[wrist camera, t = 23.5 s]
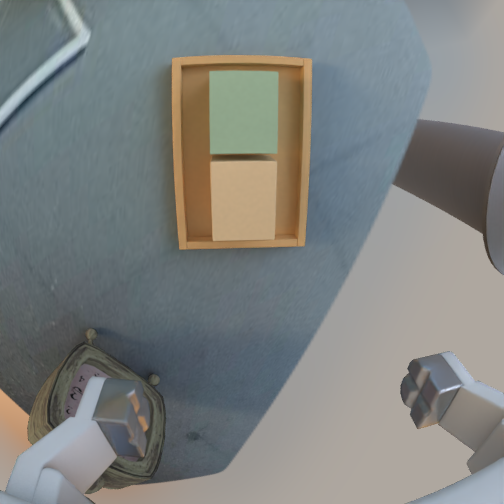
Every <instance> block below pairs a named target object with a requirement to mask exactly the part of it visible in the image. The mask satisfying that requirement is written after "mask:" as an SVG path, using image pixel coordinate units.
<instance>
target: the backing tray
mask: <svg viewBox="0 0 504 504" xmlns="http://www.w3.org/2000/svg"><path fill="white" fill-rule="evenodd" d="M210 71H276V72H278V143H277V154H210V125H209V72H210ZM311 108H312V59H307V58H304V59H303V58H295V57H281V56H257V55H217V56H194V57H181V58H180V57H179V58H172V131H173V160H174V180H175V197H176V212H177V226H178V238H179V249H180V250H184V249H219V248H257V247H296V246H305V235H306V221H307V205H308V188H309V168H310V143H311ZM221 155H270V156H271V157H272V158H273V159H274V160H276V161H277V183H276V217H275V239H274V240H238V241H213V238H212V212H211V180H210V162H211V159H212V156H221Z"/></svg>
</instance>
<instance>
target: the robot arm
mask: <svg viewBox="0 0 504 504" xmlns="http://www.w3.org/2000/svg"><path fill="white" fill-rule="evenodd" d="M408 371H409V373H408V374H407V375H406V376H405V377H404V378H403V381H402V384H401V397H402V400H403V402H404V404H405V405H406V406H408V407H409V408H411V413H410V415H411V417H412V419H413V421H414V423H415V425H416V427H417V429H421V428H424V427H428V426H431V425H434V424H437V423H439V424H438V425H439V426H441V427H442V428H444V429H445V430H446V431H447V432H449V433H450V434H452V435H453V436H454V437H456V438H457V439H458V440H460V441H461V442H462V443H464V444H465V445H467V446H468V447H469V448H471V449H472V450H473V451H475V453H474V454H473V455H472V456H471V458H470V459H469V460H468V462H467V466H468V468H469V470H470V472H471V474H472V475H470V476H468V477H466V478H464V479H462V480H460V481H458V482H456V483H454V484H452V485H449V486H447V487H445V488H443V489H441V490H438V491H436V492H434V493H431V494H429V495H426V496H424V497H421V498H419V499H416V500H414V501H411V502H408V503H405V504H504V393H502V392H500V391H498V390H496V389H494V388H492V387H490V386H488V385H486V384H484V383H482V382H480V381H474V379H473V378H472V377H471V375H470V374H469V373H468V371H467V370H466V369H465V367H464V366H463V365H462V364H461V362H460V361H459V360H458V358H457V357H456V356H455V355H454V354H453V353H452V352H450V351H447V352H444V353H440V354H435V355H431V356H427V357H422V358H418V359H414V360H412V361H411V362H410V364H409V366H408ZM143 391H144V388H143V385H142V382H141V381H137V380H126V379H115V378H104V377H95V376H92V377H91V378H90V379H89V380H88V383H87V385H86V388H85V391H84V393H83V396H82V398H81V401H80V404H79V406H78V409H77V412H76V414H75V417H69V418H68V419H67V420H65V421H64V422H63V423H61V424H60V425H59V426H57V427H56V428H55V429H53V430H52V431H51V432H49V433H48V434H47V435H45V436H44V437H43V438H42V439H40V440H39V441H38V442H36V443H35V444H34V445H32V446H31V447H30V448H28V449H27V450H26V451H25V452H23V453H22V454H20V455H19V456H18V457H17V459H16V462H15V465H14V467H13V470H12V473H11V476H10V478H9V481H8V484H7V487H6V490H5V492H4V491H1V490H0V504H93V503H92V502H91V501H90V500H89V499H88V498H86V497H85V496H84V495H83V494H84V493H85V492H86V491H87V490H88V489H89V488H90V487H91V486H92V485H93V483H94V482H95V481H96V480H97V479H98V478H99V477H100V476H101V475H102V473H103V472H104V471H105V470H106V469H107V468H108V467H109V466H110V465H111V463H112V462H113V461H114V460H115V459H116V458H117V455H119V456H129V457H141V458H144V456H145V450H146V443H147V439H146V436H145V434H144V432H145V431H146V430H147V429H148V428H149V424H150V407H149V403H148V400H147V398H146V397H144V396H143Z"/></svg>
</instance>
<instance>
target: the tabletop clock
mask: <svg viewBox="0 0 504 504" xmlns="http://www.w3.org/2000/svg"><path fill="white" fill-rule="evenodd" d="M85 336H86V338H87V339H88V340H89V341H88V343H86V342H83V343H81V344H79V345H77V346H76V347H75V348H74V349H73V350H72V351H71V352H70V353H69V354H68V356H67V357H66V358H65V359H64V360H63V361H62V362H61V364H60V365H59V366H58V367H57V368H56V369H55V370H54V372H53V373H52V374H51V375H50V376H49V377H48V379H47V380H46V382H45V383H44V385H43V386H42V388H41V390H40V391H39V393H38V395H37V397H36V399H35V402H34V405H33V408H32V410H31V413H30V417H29V421H28V428H27V429H28V440H29V441H30V443H31V444H32V445H34V444H35V443H36V442H38V441H39V440H40V439H42V438H43V437H44V436H45V435H47V434H48V433H49V432H51V431H52V430H53V429H55V428H56V427H57V426H59V425H60V424H61V423H63V422H64V421H65V420H67V419H68V418H69V417H75V414H76V412H77V409H78V406H79V404H80V401H81V398H82V396H83V393H84V391H85V388H86V385H87V383H88V380H89V379H90V378H91V377H92V376H95V377H104V378H115V379H126V380H137V381H141V382H142V385H143V388H144V391H143V396H144V397H146V398H147V400H148V403H149V407H150V424H149V428H148V429H147V430H146V431H145V432H144V434H145V436H146V439H147V443H146V450H145V456H144V458H141V457H129V456H119V455H117V458H116V459H115V460H114V461H113V462H112V463H111V465H110V466H109V467H108V468H107V469H106V470H105V471H104V472H103V473H102V475H101V476H100V477H99V478H98V479H97V480H96V481H95V482H94V483H93V485H92V486H91V487H90V488H89V489H88V490H87V491H86V492H85V493H84V494H91V493H94V492H97V491H99V490H100V489H101V488H102V487H103V488H108V489H121V488H124V487H127V486H130V485H134V484H137V483H140V482H143V481H146V480H149V479H151V478H152V477H153V475H154V474H155V472H156V471H157V469H158V466H159V463H160V460H161V455H162V450H163V445H164V440H165V423H166V413H165V404H164V400H163V396H162V395H161V394H160V393H159V392H158V391H157V390H156V389H155V388H154V387H153V386H156V385H158V384H159V382H160V380H159V377H158V376H157V375H154V374H153V375H150V376H149V378H148V381H149V382H147V381H146V380H144V379H143V378H142V377H140V376H139V375H138V374H136V373H135V372H134V371H132V370H131V369H130V368H129V367H127V366H126V365H124V364H123V363H121V362H120V361H118V360H117V359H115V358H114V357H112V356H111V355H109V354H108V353H106V352H105V351H103V350H101V349H100V348H98V347H96V346H94V345H93V340H95V339H96V338H97V332H96V331H95V330H94V329H92V328H90V329H88V330H87V331H86V333H85ZM85 497H86V496H85ZM86 498H87V497H86ZM88 499H89V498H88ZM89 500H90V499H89ZM90 501H91V500H90ZM91 502H92V503H93V504H95V503H94V502H93V501H91Z"/></svg>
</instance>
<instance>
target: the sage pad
mask: <svg viewBox="0 0 504 504" xmlns="http://www.w3.org/2000/svg"><path fill="white" fill-rule="evenodd" d="M209 125H210V154H277V143H278V72H276V71H210V72H209Z"/></svg>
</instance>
